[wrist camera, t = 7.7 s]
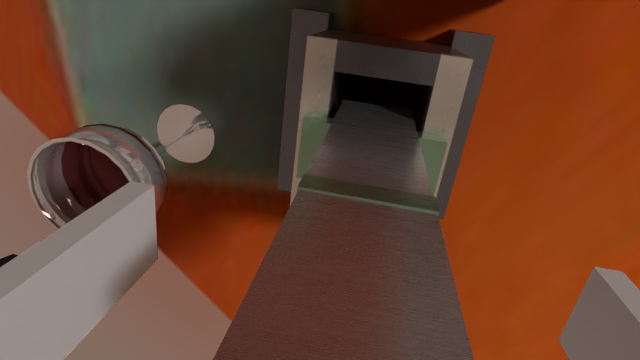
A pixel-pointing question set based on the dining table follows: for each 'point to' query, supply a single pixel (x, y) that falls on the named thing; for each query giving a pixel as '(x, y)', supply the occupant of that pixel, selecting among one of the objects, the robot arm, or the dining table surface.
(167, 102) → the dining table surface
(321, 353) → the column
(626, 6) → the dining table surface
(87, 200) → the wineglass
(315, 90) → the sleeve
